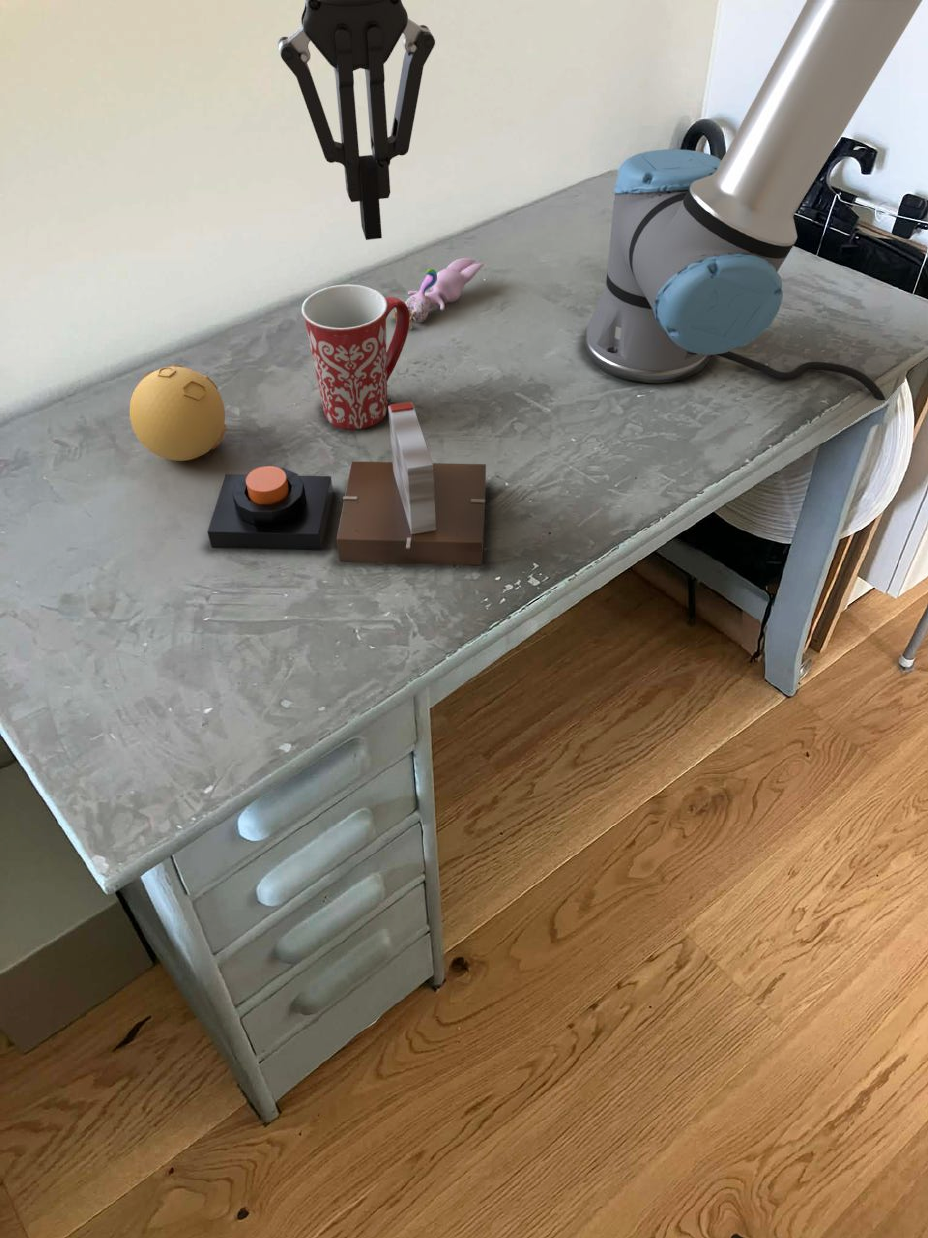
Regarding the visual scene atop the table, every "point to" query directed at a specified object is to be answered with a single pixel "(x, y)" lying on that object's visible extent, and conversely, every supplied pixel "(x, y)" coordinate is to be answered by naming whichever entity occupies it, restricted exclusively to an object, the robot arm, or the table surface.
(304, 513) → the button housing
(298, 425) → the table surface
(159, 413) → the stress ball
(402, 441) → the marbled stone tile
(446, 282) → the rabbit figure
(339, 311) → the mug
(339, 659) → the table surface
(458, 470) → the plate
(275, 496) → the button
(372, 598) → the table surface
